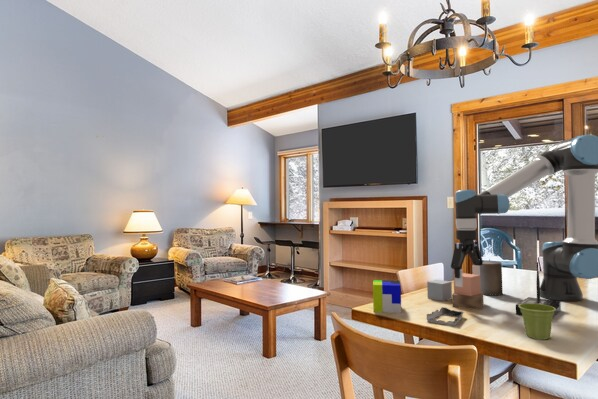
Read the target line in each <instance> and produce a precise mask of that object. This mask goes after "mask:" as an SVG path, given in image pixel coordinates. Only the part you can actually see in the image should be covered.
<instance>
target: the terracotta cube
mask: <svg viewBox="0 0 598 399" xmlns="http://www.w3.org/2000/svg"><path fill="white" fill-rule="evenodd" d="M462 276H463V287H458V286H455V274H453V293H456V294H462V295H468V296H473V295H477V294H480V293H481V290H480V275H474V274H471V273H465V272H462Z"/></svg>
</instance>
